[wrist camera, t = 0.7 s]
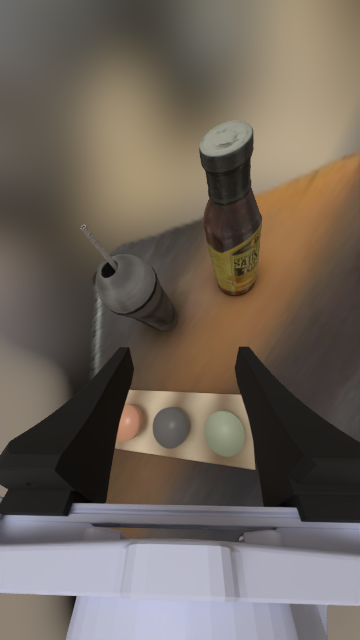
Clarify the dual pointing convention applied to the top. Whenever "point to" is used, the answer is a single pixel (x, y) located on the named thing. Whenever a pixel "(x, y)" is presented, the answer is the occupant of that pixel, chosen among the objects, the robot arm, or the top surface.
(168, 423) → the charcoal button
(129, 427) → the terracotta button
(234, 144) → the sauce bottle
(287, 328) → the top surface
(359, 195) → the top surface
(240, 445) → the sage button
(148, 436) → the button board
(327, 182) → the top surface
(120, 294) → the beverage cup
